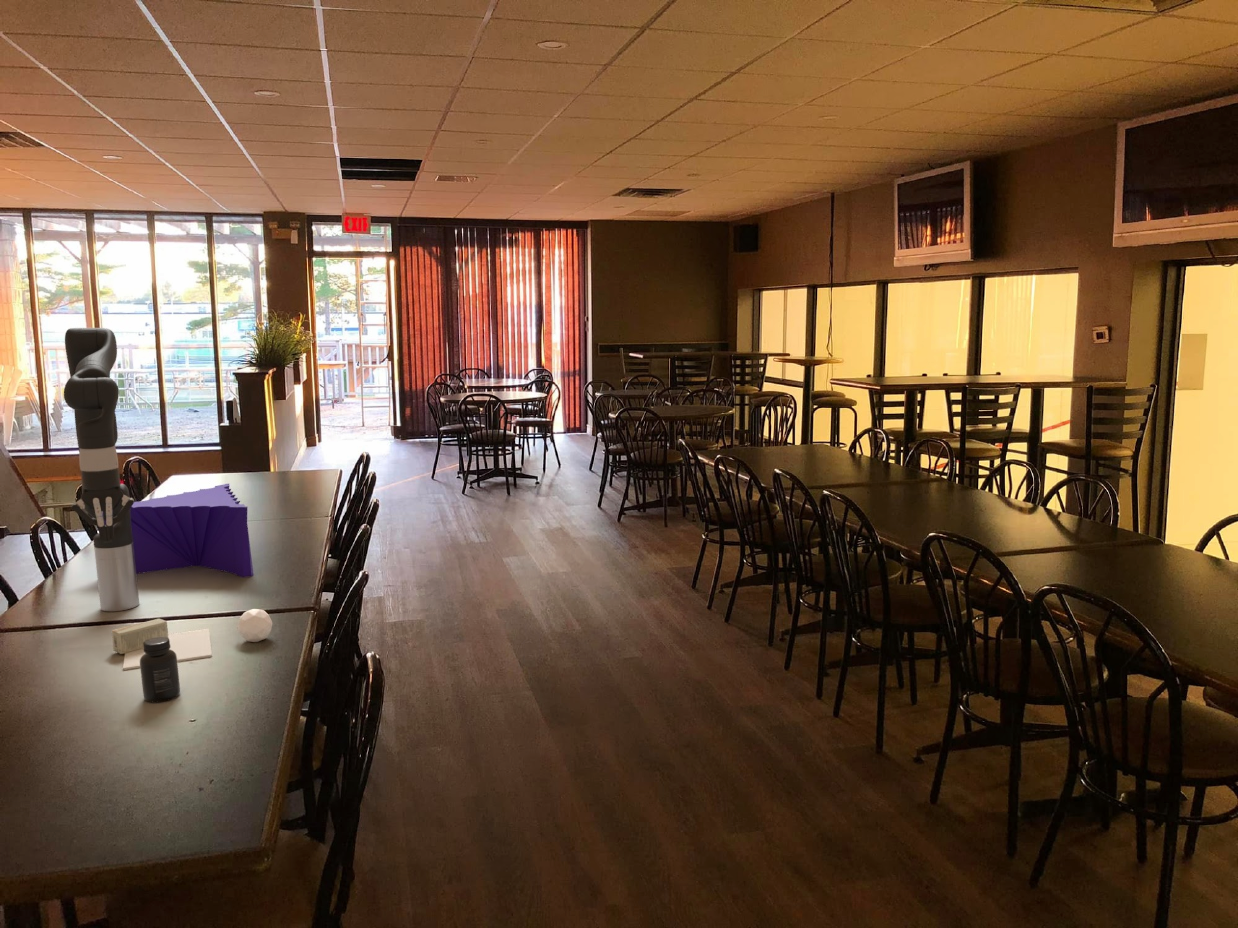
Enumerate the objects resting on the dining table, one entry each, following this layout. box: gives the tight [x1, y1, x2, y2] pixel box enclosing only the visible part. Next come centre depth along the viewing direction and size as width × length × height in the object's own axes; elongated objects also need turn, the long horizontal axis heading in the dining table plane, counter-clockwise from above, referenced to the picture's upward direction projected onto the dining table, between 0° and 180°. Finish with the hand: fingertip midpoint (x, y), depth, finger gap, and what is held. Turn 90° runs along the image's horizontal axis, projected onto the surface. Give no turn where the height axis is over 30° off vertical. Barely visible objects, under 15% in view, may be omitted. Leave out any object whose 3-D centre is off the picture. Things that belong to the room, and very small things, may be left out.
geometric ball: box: [236, 608, 273, 643], centre depth 224 cm, size 8×8×8 cm
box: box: [111, 618, 169, 655], centre depth 220 cm, size 5×4×11 cm
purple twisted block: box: [104, 483, 254, 578], centre depth 297 cm, size 40×45×21 cm
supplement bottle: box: [139, 637, 181, 703], centre depth 191 cm, size 7×7×12 cm
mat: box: [122, 628, 213, 671], centre depth 219 cm, size 20×18×1 cm
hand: (107, 541), depth 214 cm, fingers closed
